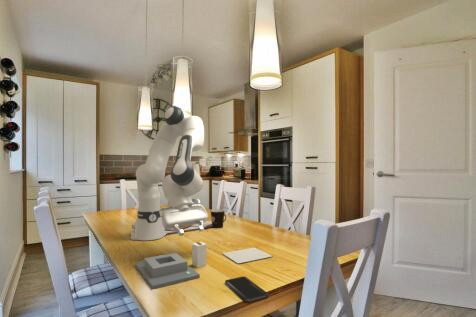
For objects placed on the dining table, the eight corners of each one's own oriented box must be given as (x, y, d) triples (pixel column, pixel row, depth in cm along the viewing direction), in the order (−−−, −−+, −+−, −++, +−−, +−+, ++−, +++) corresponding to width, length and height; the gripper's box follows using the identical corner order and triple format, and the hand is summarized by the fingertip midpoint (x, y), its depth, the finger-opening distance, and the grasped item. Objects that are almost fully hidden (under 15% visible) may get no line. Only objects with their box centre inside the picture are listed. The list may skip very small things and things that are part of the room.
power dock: (134, 265, 106) (134, 254, 106) (174, 257, 115) (174, 247, 115) (152, 289, 86) (152, 276, 86) (199, 277, 95) (199, 265, 95)
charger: (192, 264, 107) (192, 242, 107) (201, 262, 109) (201, 241, 109) (197, 267, 104) (197, 245, 104) (206, 265, 106) (206, 243, 106)
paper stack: (287, 265, 107) (287, 263, 107) (230, 278, 94) (230, 276, 94) (254, 248, 127) (254, 247, 127) (204, 258, 115) (204, 256, 115)
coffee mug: (209, 226, 172) (209, 209, 172) (222, 225, 175) (222, 209, 175) (213, 230, 161) (213, 213, 161) (227, 229, 164) (227, 212, 164)
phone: (246, 300, 77) (223, 280, 90) (246, 304, 77) (223, 283, 90) (269, 294, 81) (244, 275, 94) (269, 298, 81) (244, 279, 94)
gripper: (159, 204, 112) (171, 232, 105) (202, 199, 125) (215, 224, 118) (155, 213, 116) (166, 242, 108) (197, 207, 129) (209, 232, 121)
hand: (192, 232), depth 113 cm, fingers open, 8 cm apart
